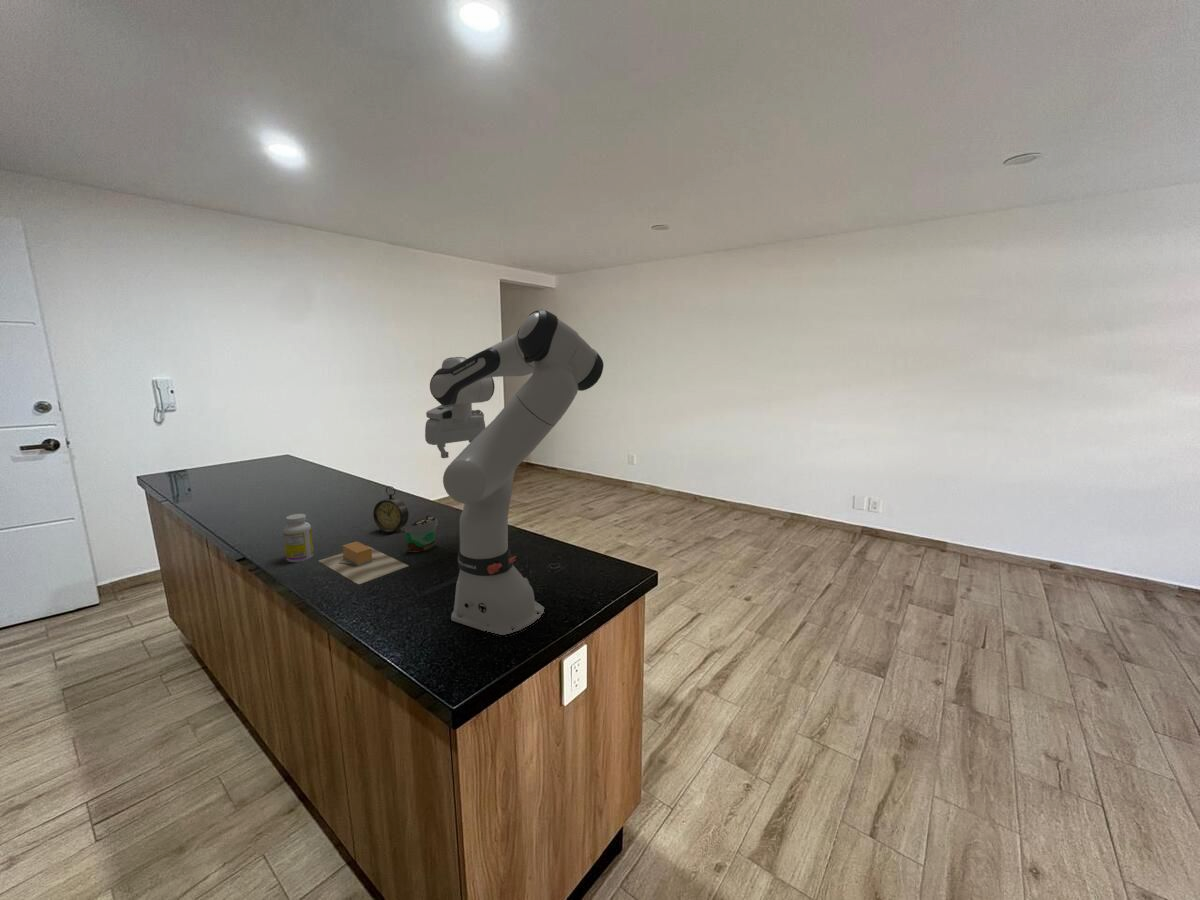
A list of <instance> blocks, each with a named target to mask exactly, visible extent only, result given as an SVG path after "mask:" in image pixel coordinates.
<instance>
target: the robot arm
mask: <svg viewBox="0 0 1200 900" xmlns="http://www.w3.org/2000/svg"><path fill="white" fill-rule="evenodd" d="M517 330H518V331H516V332H515V333H513V334H511V335H510V336H509V337H507V338H505V339H503V340H502V341H500V342H498V343H496V344H494V345H492V346H489V347H487V348H486V349H483V350H482V351H480V352H478V353H475V354H473V355H472V356H469V357H468V358H467V357H465V356H464V357H463V356H455V357H447V358H445V359H444V360H443V361H442V364H441V368H439V369H438V370H436V371H435V372H434V374H433V375H432V377H431V379H430V381H429V391H430V393H431V395H432V397H433V398H434V399H435V400H436V402H438V403H439V404H440V405H438V406H436V407H433V408H431V409H429V410H427V411H426V412H425V413H426V418H427V420H426V422H425V427H424V428H425V429H424V438H425V442H426V443H427V444H428V445H432V446H436V447H437V449H438V450H439V452H440V458H442V459H448V458H449V457H450V456H449V454H450V453H449V451H446V449H445V448H446V444H450V443H451V444H452V443H458V442H459V443H460V442H466V441H468V444H467V445H466V447H465V448H463V450H462V451H461V452H460V453H459V454H458V455H457V456H456V457H455V458H454V459H453V460H452V461H451V462H450V464H448V466H447V467H446V468H445V470H444V473H443V477H442V482H443V483H442V484H443V487H444V490H445V492H446V494H447V495H448V496H449V497H450V498H451V499H452V500H454V501H455V502H457V503H460V504H463V505H464V506H463V508H462V512H461V513H460V516H459V522H458V523H459V550H458V552H457V553H458V554H457V567H458V569H459V573H458V577H457V581H456V585H455V592H454V593H455V595H454V603H453V610H452V613H451V615H450V619H451V621H452V622H456V623H458V624H462V625H465V626H468V627H470V628H474V629H477V630H480V631H483V632H485V631H487V632H486V633H488V632H491V633H495V634H499V635H506V634H510V633H513V632H516V631H519V630H521V629H523V628H525V627H527V626H529V625H531V624H532V623H534V622H535V621H536V620H537V619H539V618H540V617H541V615H542V614H543V613H544V614H545V612H544V609H545V606H543V605H541V604H540V603H538V602H537V601H536V600H535V593H534V589H533V586H531V584H530V581H529V579H528V578H527V577H523V575H522V574H521V572H520V571H519V570H518V569H517V568H516V566H514V562H515V561H517V559H515V558H517V555H514V556H512V553H511V550H510V547H509V546H508V545H509V542H508V539H509V535H508V534H509V529H508V528H509V525H508V524H509V512H510V505H511V501H512V493H513V485H514V476H515V473H516V469H517V468H518V467H519V466H520V464H521V463H522V462H523V461H524V460H525V459H527V457H528V456H530V454H531V453H532V452H533V451H534V450H535V449H536V448H537V446H538V445H539V444H540V443H541V442H542V441H543V440H544V439H545V438H546V436H547V435H548V434H549V433H550V432H551V431H552V429H553V428H554V427H555V426H556V425H557V424H558V423H559V421H560V420H561V419H562V418H563V416H564V415H565V413H566V412H567V411H568V409H569V408H570V406H571V405H572V403H573V401H574V399H575V398H576V396H577V394H578V391H587V390H588V389H590V388H592V387H594V386H595V385H596V384H597V383H598V382H599V380H600V378H601V376H602V374H603V370H604V361H603V359H602V357H601V356H600V354H599V352H597V350H595V349H594V348H592V347H591V346H590V345H589V343H587V341H586V340H585V339H584V338H583V337H581V336H580V335H579V333H578V332H577V331H576V330H575V329H573V328H572V327H571V326H569V325H568V324H566V323H565V322H564V321H562V320H561V319H560V318H558V317H557V315H556V314H553V313H552V312H550V311H547V310H545V309H537V310H535V311H533V312H531V313H530V314H529V315H527V316H526V318H525V319H524V320H523V322H522V323H521V324H520V326H519V328H518V329H517ZM531 374H532V375H531ZM528 375H531V376H530V377H529V378H528V380H527V381H526V382H525V383H524V384H523V385H522V386H521V387H520V388H518V389H519V390H517V392H515V394H514V395H513V396H512V398H511V399H510V400H509V401H508V402H507V403H506V405H504V407H503V409H501V410H500V412H499V413H498V414H497V415H496V416H495V418H494V419H493V420H492V421H491V422H490V423H488V425H487V426H486V424H485V422H486V421H485V415H484V414H485V413H483V411H481V409H473V408H472V405H473V404H476V403H477V404H478V403H484V402H488V401H489V400H491V399H492V397H493V396H494V393H495V380H494V378H497V377H523V376H528ZM537 613H539V614H537ZM512 629H513V630H512ZM491 633H490V634H491ZM495 634H494V635H495Z"/></svg>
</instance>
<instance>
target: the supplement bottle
mask: <svg viewBox="0 0 1200 900" xmlns="http://www.w3.org/2000/svg"><path fill="white" fill-rule="evenodd" d="M285 520H286V521H285V522H286V523H287V525H285V526H284V527H283V529H282V531H283V539H284V550H285V559H286V562H289V563H301V562H300V561H302V562H305V561H308V560H310V559H312V558H313V556H314V546H313V545H314V544H313V536H312V535H313V534H312V526H311V524H310V523H309V522H307V517H306V514H305V513H295V514H290V515H288V516H286V519H285Z"/></svg>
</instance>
